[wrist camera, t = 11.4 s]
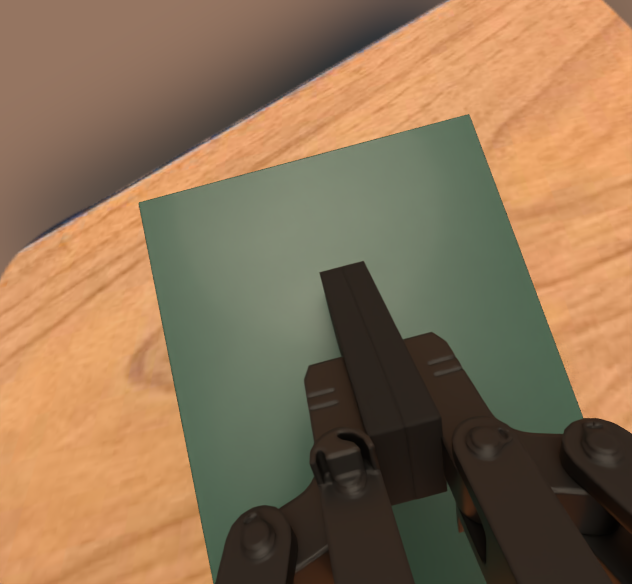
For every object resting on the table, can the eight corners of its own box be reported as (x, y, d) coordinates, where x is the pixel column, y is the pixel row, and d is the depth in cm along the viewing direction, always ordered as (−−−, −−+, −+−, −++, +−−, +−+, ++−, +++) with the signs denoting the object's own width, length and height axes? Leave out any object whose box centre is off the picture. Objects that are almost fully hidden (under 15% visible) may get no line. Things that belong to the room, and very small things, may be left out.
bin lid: (147, 210, 18) (137, 202, 17) (463, 125, 18) (469, 113, 17) (235, 651, 15) (229, 668, 14) (619, 545, 15) (635, 555, 14)
